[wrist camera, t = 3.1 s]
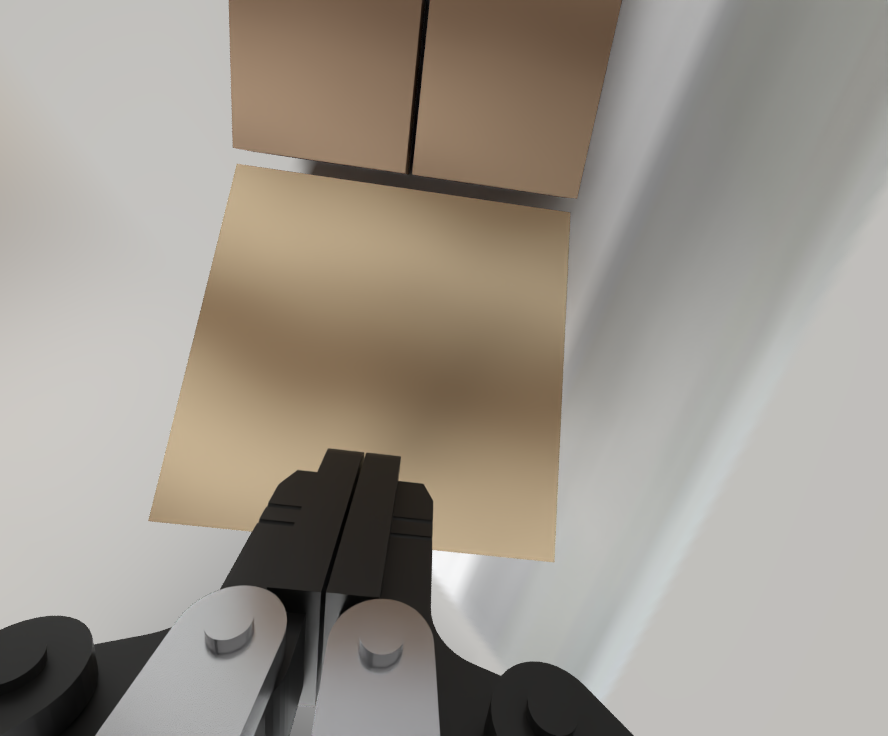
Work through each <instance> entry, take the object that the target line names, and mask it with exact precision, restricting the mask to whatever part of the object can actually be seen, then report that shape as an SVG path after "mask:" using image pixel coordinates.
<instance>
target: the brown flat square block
mask: <svg viewBox="0 0 888 736" xmlns="http://www.w3.org/2000/svg"><path fill="white" fill-rule="evenodd" d="M621 3H622V0H430V5H429V14H428V24H427V34H426V44H425V53H424V63H423V73H422V83H421V92H420V102H419V112H418V122H417V131H416V141H415V151H414V161H413V170H412V174H413V175H415V176H422V177H428V178H435V179H442V180H449V181H456V182H462V183H469V184H476V185H483V186H489V187H496V188H503V189H510V190H517V191H523V192H530V193H537V194H544V195H550V196H557V197H565V198H577V196H578V192H579V188H580V183H581V179H582V174H583V170H584V166H585V161H586V157H587V152H588V148H589V144H590V139H591V135H592V130H593V126H594V122H595V117H596V113H597V108H598V104H599V99H600V95H601V91H602V86H603V82H604V77H605V73H606V69H607V64H608V60H609V55H610V51H611V47H612V42H613V38H614V33H615V29H616V25H617V20H618V16H619V11H620V7H621ZM425 6H426V0H229V24H230V25H229V27H230V63H231V99H232V135H233V148H237V149H243V150H247V151H253V152H259V153H266V154H273V155H280V156H286V157H293V158H300V159H306V160H313V161H320V162H327V163H334V164H340V165H347V166H354V167H361V168H367V169H374V170H381V171H388V172H395V173H401V174H408V175H409V166H410V156H411V146H412V136H413V126H414V116H415V106H416V96H417V86H418V76H419V66H420V56H421V46H422V36H423V26H424V16H425Z"/></svg>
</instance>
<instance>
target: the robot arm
mask: <svg viewBox="0 0 888 736" xmlns="http://www.w3.org/2000/svg"><path fill="white" fill-rule="evenodd" d="M400 463H401V456H394V455H385V454H377V453H368V452H367V453H366V455H365V458H364V452H358V451H349V450H340V449H331V448H328V449H327V451H326V453H325V456H324V458H323V460H322V462H321V465H320V467H319V469H318V471H317V472H313V471H304V470H297V471H295V472H294V473H293V474H291V475H290V476H289V477H287V478H286V479H285V480H283V481H282V482H281V483H279V484H278V486H277V488H276V490H275V491H274V493H273V495H272V497H271V499H270V500H269V502H268V506H267V507H266V508H265V509H264V511H263V513H262V515H261V517H260V518H259V523H257V524H256V526H255V527H254V529H253V531H252V533H251V535H250V536H249V538H248V540H247V542H246V544H245V546H244V547H243V549H242V551H241V553H240V554H239V556H238V558H237V560H236V562H235V563H234V565H233V567H232V569H231V571H230V573H229V574H228V576H227V578H226V580H225V582H224V583H223V585H222V587H221V589H220V590H217V591H215V592H213V593H210V594H208V595H206V596H204V597H203V598H201V599H199V600H198V601H197V602H195V603H194V604H192V605H191V606H190V607H189V608H188V609H187V610H186V611H184V612H183V613H182V615H181V616H180V617H179V619H178V620H177V621H176V622H175V624H174V625H173V626H172V627H171V628H168V629H165V630H163V631H160V632H156V633H152V634H148V635H143V636H138V637H132V638H127V639H121V640H116V641H111V642H105V643H100V644H95V645H94V644H93V638H92V635H91V633H90V630H89V629H88V627H87V626H86V625H85V624H84V623H82V622H80V621H79V620H77V619H74V618H71V617H65V616H46V617H39V618H34V619H30V620H25V621H22V622H19V623H16V624H14V625H11V626H8V627H6V628H4V629H1V630H0V736H290V732H291V729H292V725H293V721H294V718H295V714H296V710H297V707H298V706H306V707H315V705H316V701H317V706H316V711H315V717H314V723H313V729H312V735H311V736H633V735H632V734H631V733H630V731H629V730H628V729H627V728H626V727H624V725H623V724H622V723H621V722H620V721H619V720H618V719H617V718H616V717H615V716H614V715H613V714H612V713H611V712H610V711H609V710H608V709H607V708H606V707H605V706H604V705H603V704H602V703H601V702H600V701H599V700H598V699H597V698H596V697H595V696H594V695H593V694H592V693H591V692H590V691H589V690H588V689H587V688H586V687H585V686H584V685H583V684H582V683H581V682H580V681H579V680H578V679H577V678H575V677H574V676H572V675H571V674H570V673H568V672H567V671H565V670H563V669H561V668H559V667H557V666H554V665H551V664H548V663H543V662H524V663H520V664H517V665H515V666H513V667H511V668H510V669H508V670H507V671H506V672H505V673H504V674H503V675H502V676H500V675H497V674H495V673H493V672H490V671H488V670H486V669H483V668H481V667H479V666H477V665H474V664H472V663H470V662H468V661H466V660H464V659H462V658H461V657H460V656H458V655H456V654H455V653H454V652H453V651H452V650H451V649H449V647H447V646H446V644H445V643H444V642H443V641H442V639H441V638H440V636H439V635H438V633H437V631H436V629H435V627H434V624H433V621H432V617H431V576H432V537H433V499H432V498H431V496H430V494H429V492H428V491H427V489H426V487H425V485H424V484H422V483H413V482H404V481H398V480H399V472H400ZM318 693H319V694H318ZM317 697H318V700H317Z"/></svg>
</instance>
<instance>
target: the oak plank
mask: <svg viewBox="0 0 888 736" xmlns="http://www.w3.org/2000/svg"><path fill="white" fill-rule="evenodd" d="M569 232H570V212H564V211H557V210H550V209H543V208H536V207H529V206H523V205H516V204H509V203H502V202H495V201H488V200H481V199H475V198H468V197H461V196H454V195H447V194H440V193H433V192H427V191H420V190H413V189H406V188H399V187H392V186H385V185H379V184H372V183H365V182H358V181H351V180H344V179H337V178H331V177H324V176H317V175H310V174H303V173H296V172H289V171H282V170H275V169H268V168H262V167H255V166H248V165H241V164H237V166H236V169H235V174H234V178H233V182H232V186H231V190H230V194H229V198H228V202H227V206H226V210H225V214H224V218H223V222H222V226H221V230H220V234H219V238H218V242H217V246H216V250H215V254H214V258H213V262H212V266H211V270H210V275H209V279H208V283H207V287H206V290H205V295H204V298H203V303H202V307H201V311H200V315H199V319H198V323H197V327H196V331H195V335H194V339H193V343H192V347H191V351H190V355H189V359H188V363H187V367H186V371H185V375H184V379H183V383H182V387H181V391H180V395H179V400H178V404H177V407H176V412H175V415H174V420H173V423H172V427H171V432H170V436H169V440H168V444H167V448H166V452H165V456H164V460H163V464H162V468H161V472H160V476H159V480H158V484H157V488H156V492H155V496H154V500H153V505H152V508H151V512H150V516H149V521H152V522H153V521H154V522H162V523H172V524H182V525H192V526H202V527H212V528H222V529H232V530H241V531H251V532H252V531H253V529H254V527H255V526H256V524H257V523H259V518H260V517H261V515H262V513H263V511H264V509H265V508H266V507H267V506H268V502H269V500H270V499H271V497H272V495H273V493H274V491H275V490H276V488H277V486H278V484H279V483H281V482H282V481H283V480H285V479H286V478H287V477H289V476H290V475H291V474H293V473H294V472H295V471H297V470H304V471H313V472H317V471H318V469H319V467H320V465H321V462H322V460H323V458H324V456H325V453H326V451H327V449H328V448H331V449H340V450H349V451H358V452H364V458H365V455H366V453H367V452H368V453H377V454H385V455H394V456H401V463H400V472H399V480H398V481H404V482H413V483H422V484H424V485H425V487H426V489H427V491H428V492H429V494H430V496H431V498H432V499H433V537H432V550H438V551H448V552H458V553H468V554H478V555H488V556H497V557H507V558H517V559H527V560H537V561H547V562H554V557H555V536H556V514H557V492H558V471H559V449H560V427H561V406H562V384H563V362H564V341H565V319H566V297H567V276H568V254H569Z"/></svg>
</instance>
